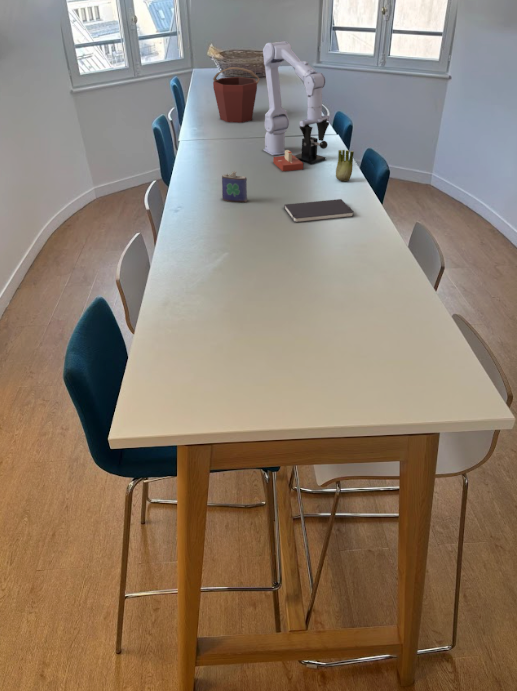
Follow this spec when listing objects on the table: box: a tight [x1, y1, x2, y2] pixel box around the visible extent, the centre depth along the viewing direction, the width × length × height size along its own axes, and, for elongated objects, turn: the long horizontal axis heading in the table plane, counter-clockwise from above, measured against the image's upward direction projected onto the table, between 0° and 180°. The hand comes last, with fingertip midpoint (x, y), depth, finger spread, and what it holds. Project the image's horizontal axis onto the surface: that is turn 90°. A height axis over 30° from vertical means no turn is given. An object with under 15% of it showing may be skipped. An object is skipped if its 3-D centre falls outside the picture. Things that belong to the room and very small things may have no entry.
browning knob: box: [284, 149, 293, 162], centre depth 239 cm, size 5×2×4 cm, turn 18°
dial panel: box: [272, 154, 304, 172], centre depth 240 cm, size 12×9×3 cm
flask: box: [221, 170, 248, 203], centre depth 206 cm, size 9×3×11 cm, turn 74°
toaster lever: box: [310, 139, 328, 150], centre depth 242 cm, size 11×3×3 cm, turn 43°
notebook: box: [284, 198, 354, 223], centre depth 199 cm, size 13×2×21 cm
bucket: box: [212, 66, 261, 124], centre depth 298 cm, size 24×22×25 cm
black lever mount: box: [293, 136, 326, 165], centre depth 246 cm, size 11×9×9 cm
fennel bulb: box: [335, 149, 355, 182], centre depth 223 cm, size 6×5×12 cm
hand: (314, 142), depth 235 cm, fingers open, 7 cm apart
